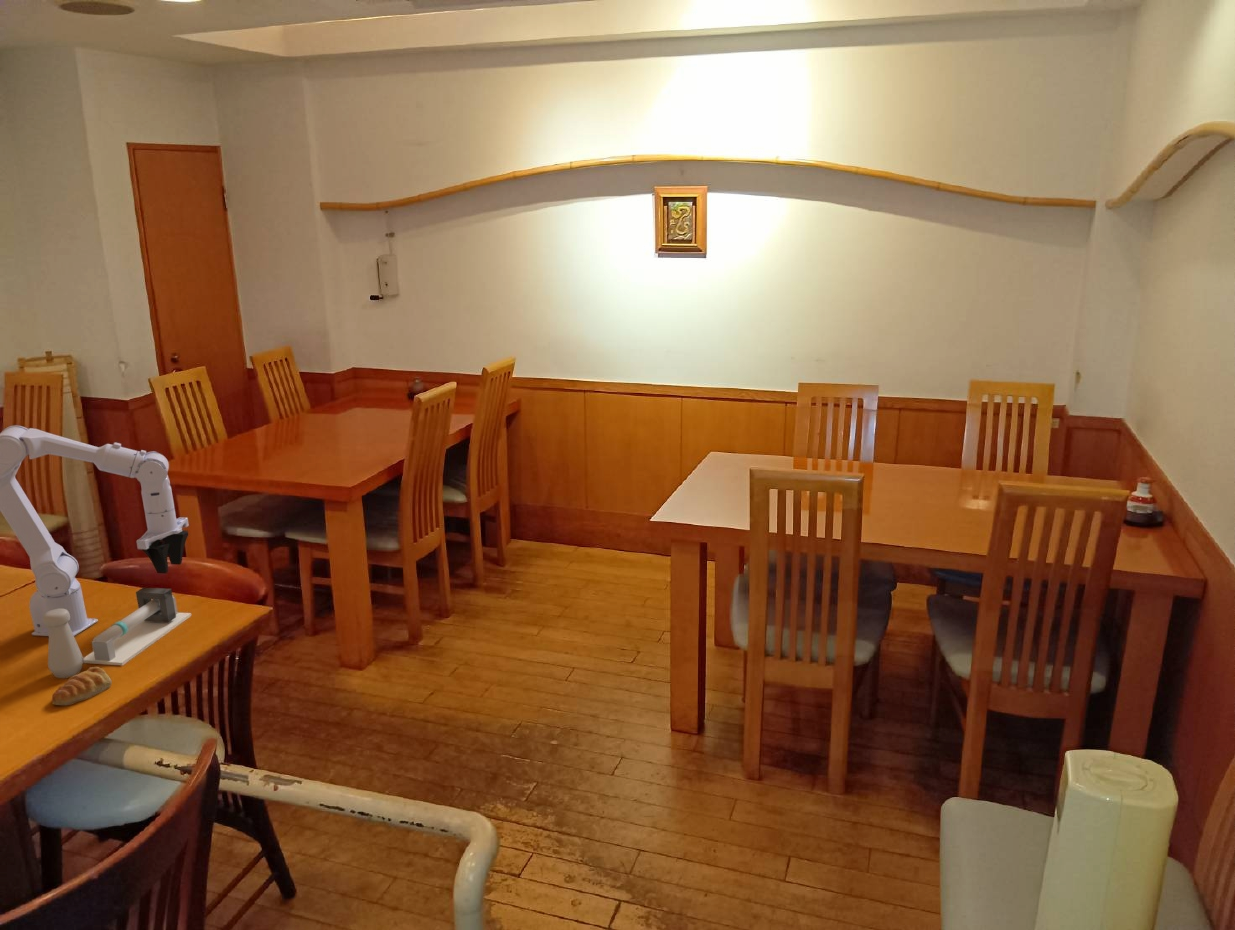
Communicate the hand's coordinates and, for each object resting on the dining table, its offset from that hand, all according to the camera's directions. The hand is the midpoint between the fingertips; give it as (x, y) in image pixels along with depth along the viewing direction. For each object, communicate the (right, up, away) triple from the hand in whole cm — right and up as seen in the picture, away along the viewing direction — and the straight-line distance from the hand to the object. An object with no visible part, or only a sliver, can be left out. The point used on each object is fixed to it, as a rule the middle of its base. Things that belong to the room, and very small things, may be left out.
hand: (169, 568), depth 190 cm
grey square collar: (-1, -11, -3) cm, 11 cm away
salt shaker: (-8, -18, -23) cm, 30 cm away
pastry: (0, -20, -29) cm, 35 cm away
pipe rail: (-2, -13, -9) cm, 16 cm away
